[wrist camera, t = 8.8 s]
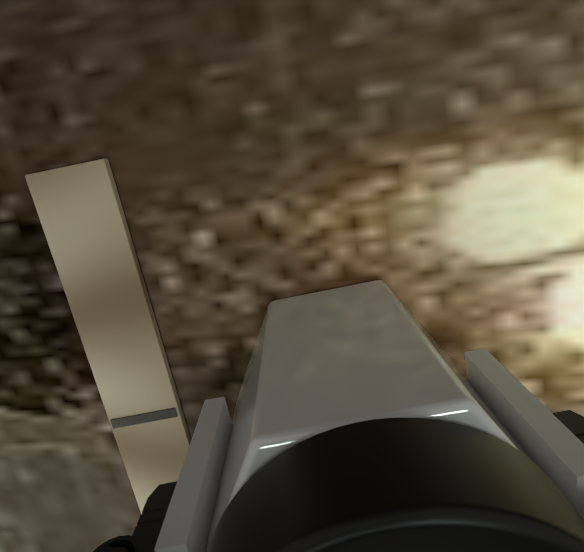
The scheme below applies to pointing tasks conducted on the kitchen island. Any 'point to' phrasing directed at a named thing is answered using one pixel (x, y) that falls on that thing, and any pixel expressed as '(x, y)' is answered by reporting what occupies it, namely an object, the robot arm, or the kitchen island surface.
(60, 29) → the kitchen island surface
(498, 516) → the jar
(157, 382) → the strip
